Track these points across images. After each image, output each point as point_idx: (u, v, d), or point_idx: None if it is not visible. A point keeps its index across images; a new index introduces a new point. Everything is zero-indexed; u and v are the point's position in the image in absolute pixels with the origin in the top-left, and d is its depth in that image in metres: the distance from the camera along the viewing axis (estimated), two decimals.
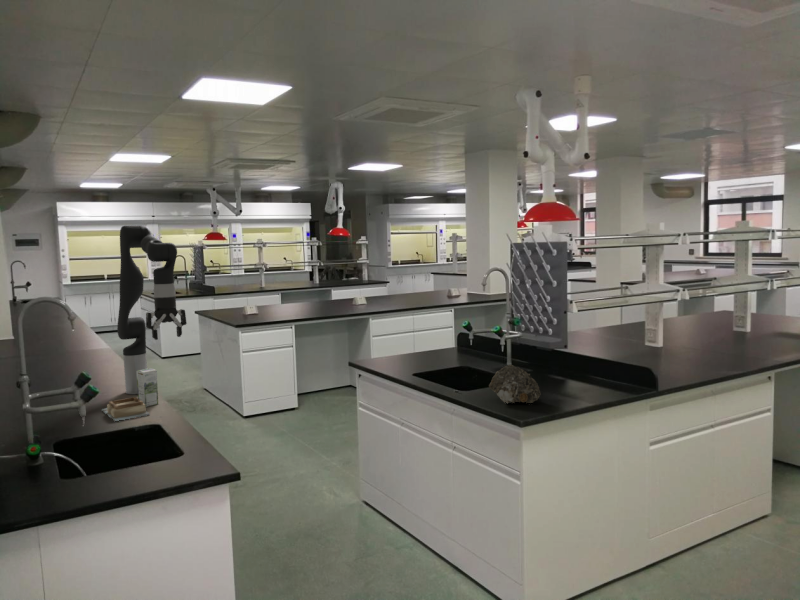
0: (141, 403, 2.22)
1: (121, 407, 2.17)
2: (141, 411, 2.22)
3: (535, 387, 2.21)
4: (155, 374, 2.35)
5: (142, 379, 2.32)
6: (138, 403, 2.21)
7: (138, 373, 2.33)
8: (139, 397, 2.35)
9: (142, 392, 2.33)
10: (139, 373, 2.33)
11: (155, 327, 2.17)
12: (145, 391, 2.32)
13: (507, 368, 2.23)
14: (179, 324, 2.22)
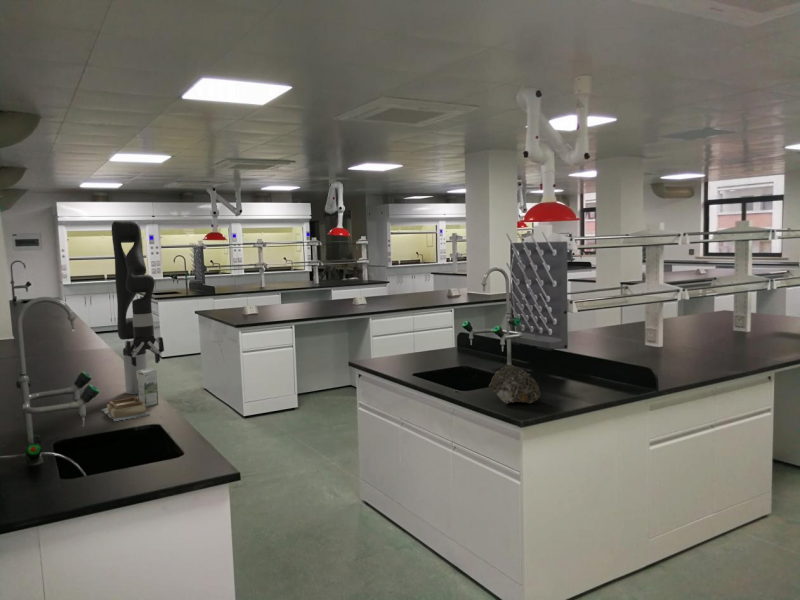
0: (141, 403, 2.22)
1: (121, 407, 2.17)
2: (141, 411, 2.22)
3: (535, 387, 2.21)
4: (155, 374, 2.35)
5: (142, 379, 2.32)
6: (138, 403, 2.21)
7: (138, 373, 2.33)
8: (139, 397, 2.35)
9: (142, 392, 2.33)
10: (139, 373, 2.33)
11: (134, 354, 2.30)
12: (145, 391, 2.32)
13: (507, 368, 2.23)
14: (157, 351, 2.36)
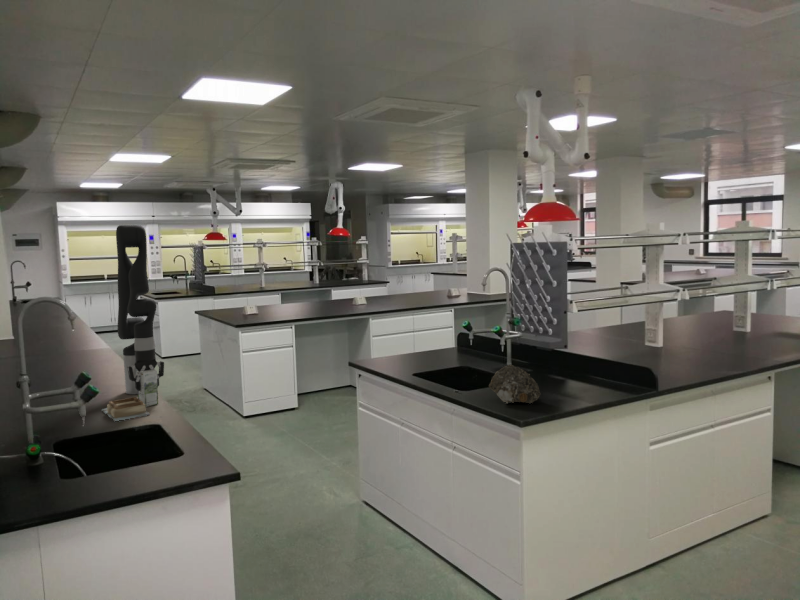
0: (141, 403, 2.22)
1: (121, 407, 2.17)
2: (141, 411, 2.22)
3: (535, 387, 2.21)
4: (155, 374, 2.35)
5: (142, 379, 2.32)
6: (138, 403, 2.21)
7: (138, 373, 2.33)
8: (139, 397, 2.35)
9: (142, 392, 2.33)
10: None
11: (138, 379, 2.32)
12: (145, 391, 2.32)
13: (507, 368, 2.23)
14: None
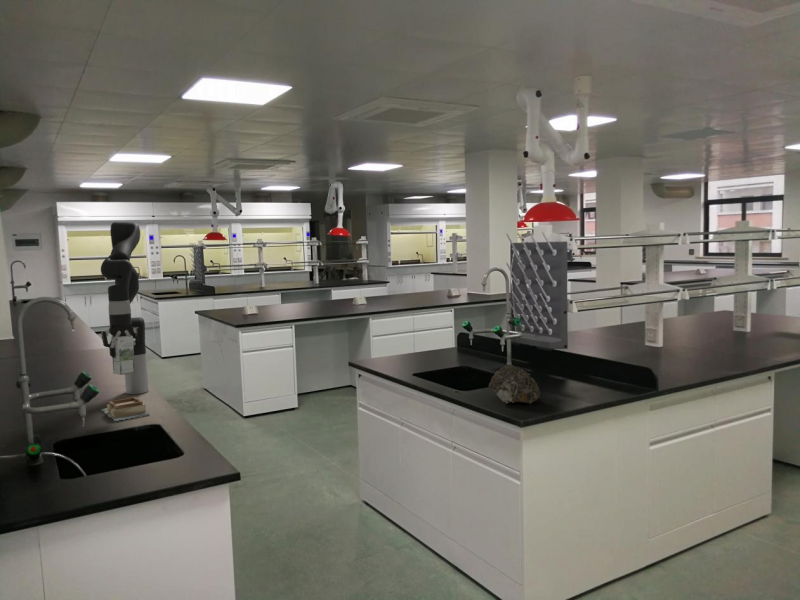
0: (141, 403, 2.22)
1: (121, 407, 2.17)
2: (141, 411, 2.22)
3: (535, 387, 2.21)
4: (131, 340, 2.21)
5: (117, 345, 2.18)
6: (138, 403, 2.21)
7: None
8: (114, 365, 2.20)
9: (117, 359, 2.18)
10: None
11: (112, 345, 2.18)
12: (121, 358, 2.18)
13: (507, 368, 2.23)
14: None
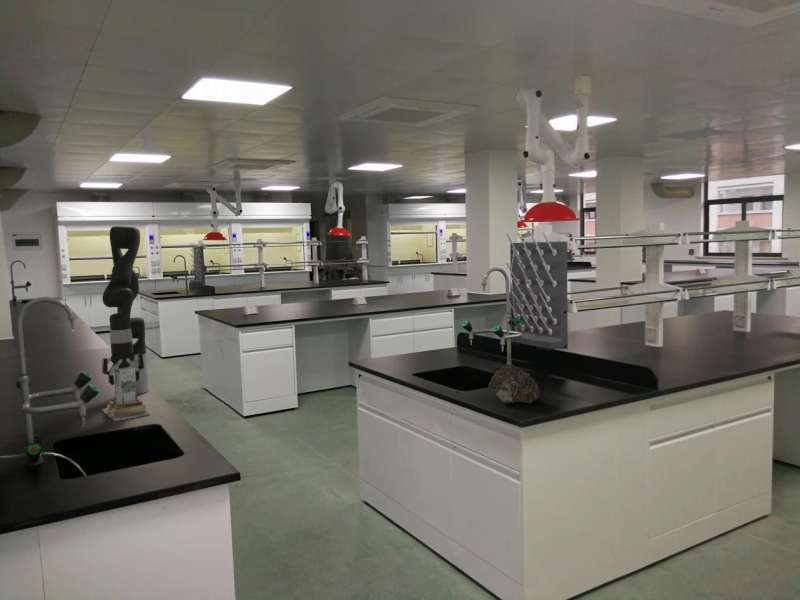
0: (141, 403, 2.22)
1: (121, 407, 2.17)
2: (141, 411, 2.22)
3: (534, 387, 2.21)
4: (133, 372, 2.22)
5: (119, 377, 2.19)
6: (138, 403, 2.21)
7: (115, 371, 2.20)
8: (116, 396, 2.22)
9: (119, 391, 2.20)
10: (116, 371, 2.20)
11: (111, 372, 2.18)
12: (123, 390, 2.19)
13: (506, 368, 2.24)
14: (136, 368, 2.24)
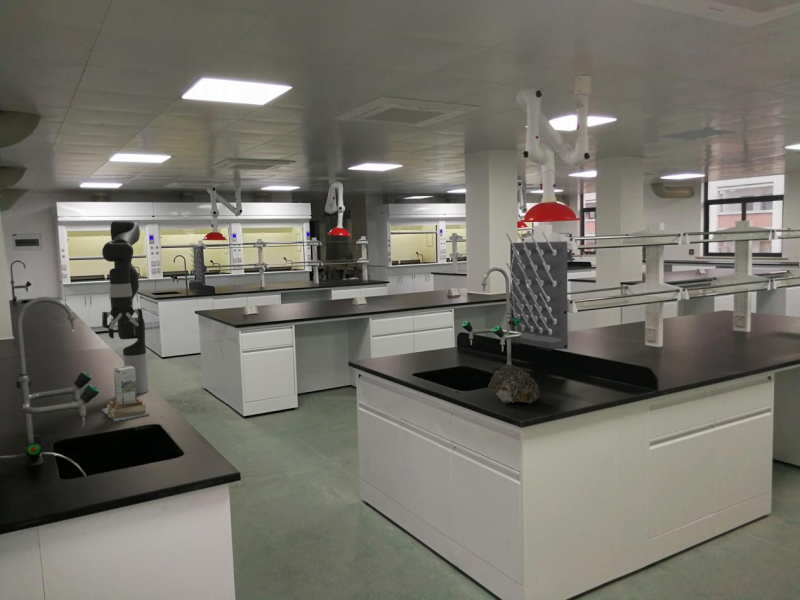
0: (141, 403, 2.22)
1: (121, 407, 2.17)
2: (141, 411, 2.22)
3: (534, 387, 2.21)
4: (133, 372, 2.22)
5: (119, 377, 2.19)
6: (138, 403, 2.21)
7: (115, 371, 2.20)
8: (116, 396, 2.22)
9: (119, 391, 2.20)
10: (116, 371, 2.20)
11: (111, 326, 2.20)
12: (123, 390, 2.19)
13: (506, 368, 2.24)
14: (136, 323, 2.26)
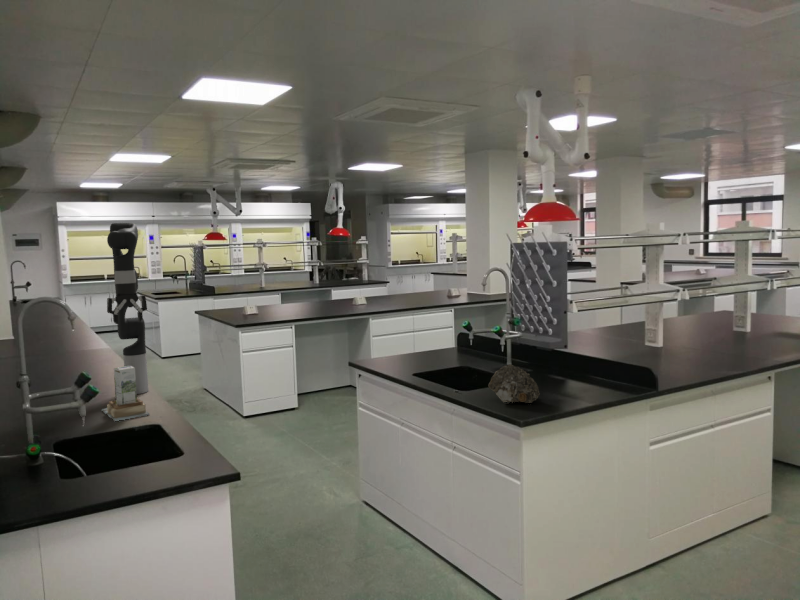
0: (141, 403, 2.22)
1: (121, 407, 2.17)
2: (141, 411, 2.22)
3: (534, 387, 2.21)
4: (133, 372, 2.22)
5: (119, 377, 2.19)
6: (138, 403, 2.21)
7: (115, 371, 2.20)
8: (116, 396, 2.22)
9: (119, 391, 2.20)
10: (116, 371, 2.20)
11: (116, 312, 2.27)
12: (123, 390, 2.19)
13: (506, 368, 2.24)
14: (140, 309, 2.33)
